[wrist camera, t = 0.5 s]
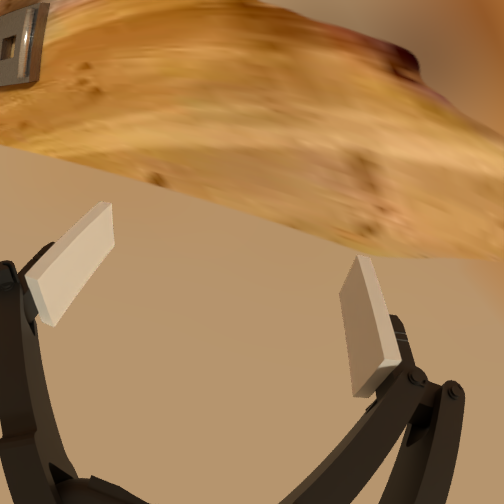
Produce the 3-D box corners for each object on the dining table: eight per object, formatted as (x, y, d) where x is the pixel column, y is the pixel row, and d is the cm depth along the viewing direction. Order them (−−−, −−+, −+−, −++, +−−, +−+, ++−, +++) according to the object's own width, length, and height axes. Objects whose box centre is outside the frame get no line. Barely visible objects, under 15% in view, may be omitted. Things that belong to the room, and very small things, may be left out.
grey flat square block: (1, 19, 25) (-14, 20, 22) (49, 3, 26) (33, 2, 22) (-6, 86, 33) (-21, 90, 30) (38, 80, 34) (22, 83, 30)
